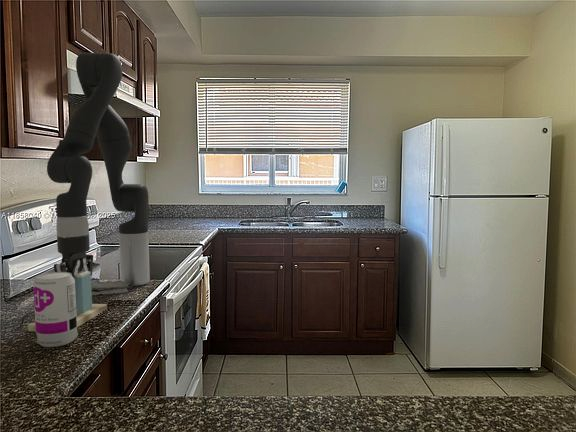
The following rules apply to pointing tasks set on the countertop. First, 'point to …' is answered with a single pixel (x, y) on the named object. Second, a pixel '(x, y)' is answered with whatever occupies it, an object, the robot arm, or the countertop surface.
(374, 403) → the countertop surface
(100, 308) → the board
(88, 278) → the block
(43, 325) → the supplement can
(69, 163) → the robot arm
